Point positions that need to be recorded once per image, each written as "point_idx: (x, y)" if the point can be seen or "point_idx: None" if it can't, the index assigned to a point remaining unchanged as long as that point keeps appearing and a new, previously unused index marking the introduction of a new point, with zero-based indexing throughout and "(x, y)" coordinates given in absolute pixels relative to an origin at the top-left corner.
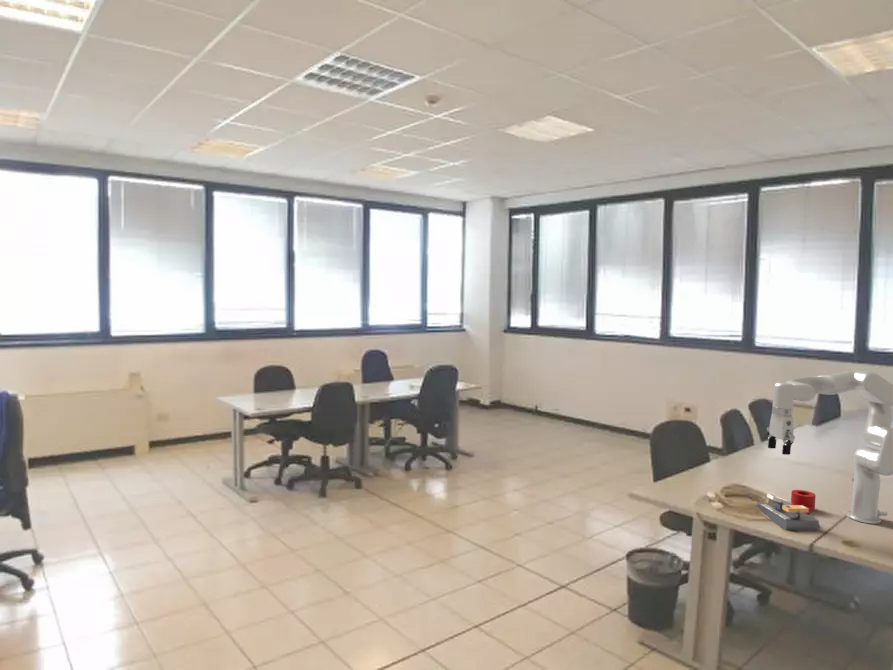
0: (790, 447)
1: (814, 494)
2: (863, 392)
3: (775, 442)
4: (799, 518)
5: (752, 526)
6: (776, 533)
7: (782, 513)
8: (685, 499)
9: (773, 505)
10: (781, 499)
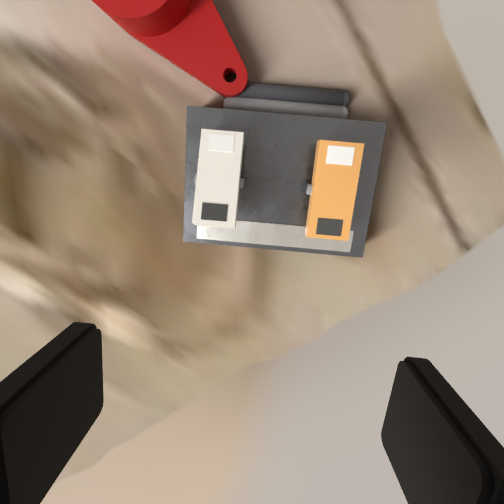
0: (493, 442)
1: None
2: None
3: (45, 394)
4: None
5: (310, 335)
6: (372, 300)
7: (295, 220)
8: None
9: None
10: (238, 185)
